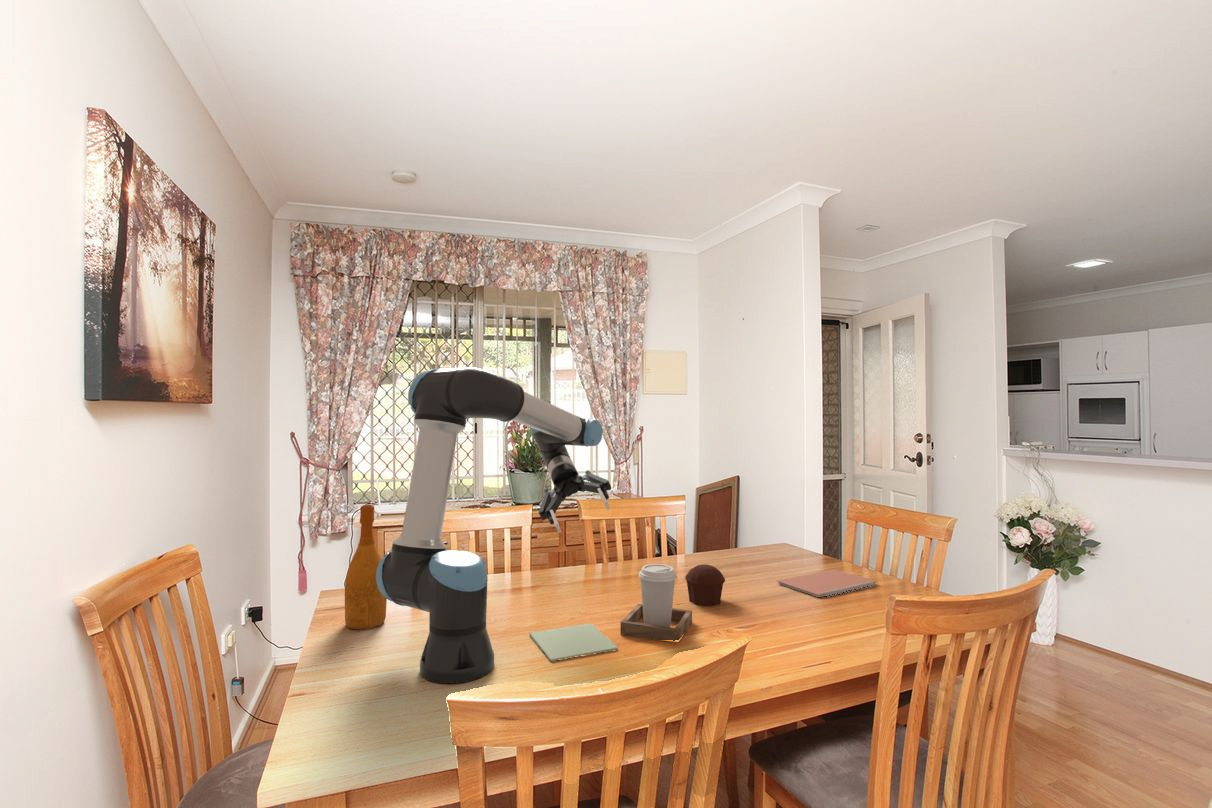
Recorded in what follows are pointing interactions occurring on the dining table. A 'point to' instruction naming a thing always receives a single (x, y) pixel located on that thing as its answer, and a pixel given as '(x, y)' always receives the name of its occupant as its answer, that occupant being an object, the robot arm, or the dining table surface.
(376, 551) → the wine bottle
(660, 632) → the square tray
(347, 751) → the dining table surface
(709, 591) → the muffin
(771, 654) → the dining table surface
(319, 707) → the dining table surface
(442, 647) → the robot arm
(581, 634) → the mat
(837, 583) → the notebook
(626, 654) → the dining table surface
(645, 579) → the coffee cup
